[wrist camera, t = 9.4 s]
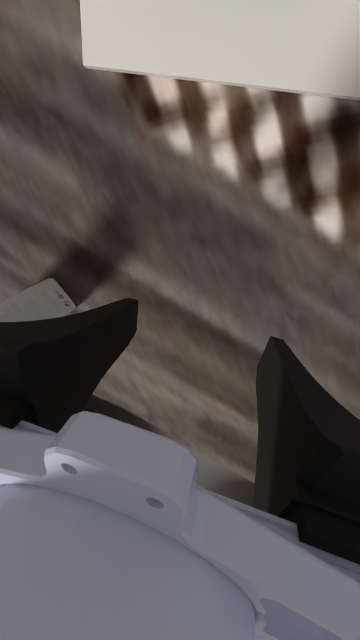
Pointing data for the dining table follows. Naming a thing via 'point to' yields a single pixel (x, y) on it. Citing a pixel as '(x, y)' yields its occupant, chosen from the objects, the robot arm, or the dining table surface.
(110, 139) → the dining table surface
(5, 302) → the skincare box
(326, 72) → the socket plate
